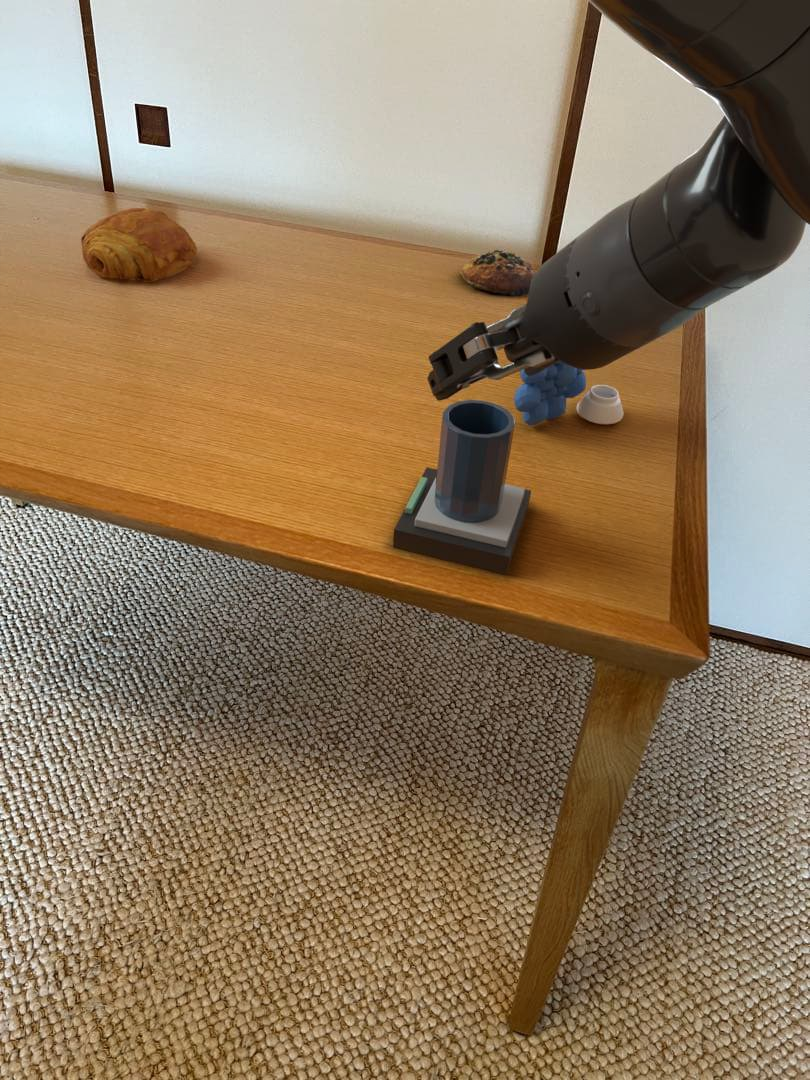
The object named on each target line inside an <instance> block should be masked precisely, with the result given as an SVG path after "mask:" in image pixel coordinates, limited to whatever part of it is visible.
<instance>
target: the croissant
mask: <svg viewBox="0 0 810 1080" xmlns="http://www.w3.org/2000/svg"><path fill="white" fill-rule="evenodd" d="M80 240H81V248H82V249H81V250H82V258H83V260H84V263H85V265H86V266H87V267H88V269H90V271H92V272H93V273H95V275H97V276H99V277H101V278H110V279H119V280H124V279H127V280H129V281H136V280H139V282H143V283H149V282H156V281H159V280H161V279H168V278H172V277H173V276H175V275H178V274H179V273H182V272H185V271H186V270H187V269H188V267H189V266H191V265H192V264H193V262H194V261H195V260H196V256H197V254H198V247H197V244H196V242H195V241H194V240H193V239H192V237H191V235H190V234H189V232H188V231H187V230H186V229H185V227H183V226H181V225H180V224H179V223H178V222H176V221H174V220H173V219H171V218H170V217H168V215H167V214H166V213H165V212H163V211H160V210H159V211H158V210H157V211H156V210H152V209H148V208H144V207H131V208H127V209H123V210H118V211H115V212H113V213H111V214H110V215H108V216H106V217H103V218H101V219H100V220H98V221H97V222H96V223H94V224H92V225H91V226H90V227H89V228H87V229H86V231H85V232H84V233H83V234H82V235H81V239H80Z"/></svg>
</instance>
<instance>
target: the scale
mask: <svg viewBox="0 0 810 1080" xmlns="http://www.w3.org/2000/svg"><path fill="white" fill-rule="evenodd" d="M436 474H437V468H432V467H431V468H430V467H426V468H425V469H424V471H423V472H422V475H421V477H420V479H419V481H418V483H417V485H416V487H415V489H414V490H413V493H412V494H411V496H410V498H409V500H408V502H407V504H406V506H405V508H404V509H403V511H402V513H401V515H400V517H399V518H398V521H397V523H396V525H395V526H394V529H393V538H392V539H393V540H392V548H395V549H399V550H403V551H407V552H411V553H415V554H419V555H424V556H426V557H427V556H428V557H432V558H436V559H440V560H443V561H448V562H452V563H456V564H460V565H465V566H468V567H472V568H476V569H481V570H485V571H489V572H492V573H497V574H500V575H505V576H506V575H507V574H508V572H509V568H510V565H511V562H512V560H513V556H514V552H515V549H516V546H517V543H518V540H519V538H520V535H521V531H522V528H523V525H524V521H525V518H526V516H527V513H528V511H529V510H528V509H529V505H530V500H531V495H532V490H530V489H527V488H525V487H521V486H516V485H512V484H507V483H505V486H504V492H503V498H502V503H501V507H500V510H499V512H498V513H497V515H495V516H494V517H493V518H491V519H489V520H486V521H483V522H477V523H467V522H460V521H456V520H453V519H451V518H449V517H447V516H445V515H444V514H442V513H441V512H440V511H439V510H438V509H437V507H436V505H435V502H434V497H435V484H436Z"/></svg>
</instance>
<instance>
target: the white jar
mask: <svg viewBox="0 0 810 1080" xmlns="http://www.w3.org/2000/svg"><path fill="white" fill-rule="evenodd" d="M576 412H577V414H578V415H579V416H580V417H581V418H582V419H584V420H587V421H588V422H591V423H594V424H597V425H598V424H599V425H612V424H616V423H618V422H621V421H622V419H623V418H624V415H625V412H624V408H623V405H622V401H621V398H620V393H619V390H618V389H616V388H615V387H613V386H610V385H606V384H596V385H593V386H591V388H590V389H589V390H588V391H587V392H586V393H585V395H584V396H582V398H581V399H580V400H579V402H578V403H577V404H576Z"/></svg>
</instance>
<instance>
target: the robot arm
mask: <svg viewBox="0 0 810 1080" xmlns="http://www.w3.org/2000/svg"><path fill="white" fill-rule="evenodd" d="M587 1H588V2H589V3H590V4H591V5H592V6H593V7H594V8H595V9H596V10H598V11H599V12H600V14H601V15H603V16H604V17H605V18H606V19H607V20H608V21H610V22H611V23H612V24H613V25H614V26H615V27H617V28H618V30H619V31H621V32H622V33H623V34H625V35H626V36H627V37H629V38H630V39H631V40H632V41H633V42H635V43H636V44H638V46H640V47H641V48H643V49H644V50H645V51H647V52H648V53H649V54H650V55H652V56H653V57H654V58H656V59H657V60H659V61H660V62H661V63H662V64H663V65H665V66H666V67H668V68H669V69H671V71H673V72H674V73H675V74H677V75H678V76H680V77H681V78H682V79H683V80H685V81H686V82H688V83H689V84H690V85H692V86H693V87H694V88H695V89H697V90H698V91H701V92H702V93H704V94H705V95H707V96H708V97H710V98H711V99H712V100H713V101H714V102H715V103H716V104H717V105H718V107H719V109H720V110H721V111H722V113H723V114H724V115H723V116H722V118H721V119H720V121H719V122H718V123H717V125H716V127H715V128H714V129H713V131H712V132H711V133H710V135H709V136H708V137H707V138H706V140H705V142H704V143H703V144H702V145H701V146H700V148H699V149H697V150H696V151H694V153H692V154H691V155H689V156H687V157H686V158H685V159H683V160H682V161H681V162H680V163H678V165H676V166H674V167H673V168H672V169H671V170H669V171H668V172H667V173H666V174H664V175H663V176H661V178H659V179H658V180H656V181H655V182H654V183H653V184H651V185H650V186H648V187H647V188H646V189H645V190H644V191H643V190H642V192H640V193H639V194H636V196H634V197H632V198H630V199H628V200H626V201H624V202H623V203H621V204H619V205H617V206H616V207H614V208H613V209H612V210H610V211H608V212H607V213H606V214H605V215H604V216H602V217H601V218H600V219H598V220H597V221H596V222H594V223H593V224H592V225H591V226H589V227H588V228H587V229H585V230H584V231H583V232H582V233H580V234H579V235H578V236H576V237H575V238H574V239H573V240H571V241H570V242H568V244H566V245H565V246H564V247H563V248H561V249H560V250H559V251H557V252H556V253H555V254H554V255H552V256H551V257H549V258H548V259H547V260H546V261H545V262H543V263H542V265H540V266H539V268H538V269H537V271H535V272H536V273H535V275H534V277H533V279H532V282H531V285H530V289H529V291H528V294H527V295H528V296H527V301H526V303H525V304H523V305H521V306H518V307H516V308H514V309H513V310H511V311H510V312H509V314H508V316H505V318H502V319H500V320H498V321H496V322H493V323H491V324H489V325H486V322H485V321H481V322H479V321H476V322H473V323H471V325H470V326H468V327H467V328H465V330H463V331H461V332H460V333H459V334H457V335H456V336H455V337H453V338H452V339H451V340H449V341H448V342H447V343H445V344H444V345H442V346H441V347H440V348H438V349H436V350H435V351H433V352H432V353H430V355H429V356H428V361H429V364H430V365H431V367H432V370H431V371H429V373H428V376H427V377H426V380H427V383H428V385H429V388H430V390H431V393H432V396H433V397H434V398H435V399H436V400H437V401H440V402H441V401H443V400H448V399H449V398H451V397H452V396H454V395H455V394H457V393H458V392H460V391H462V390H463V389H466V388H469V387H470V386H471V385H473V384H474V383H477V382H479V381H481V380H485V379H486V378H487V379H489V380H494V381H500V380H502V379H504V378H507V377H509V376H511V375H514V374H516V373H519V372H520V371H521V370H523V369H524V371H525V373H526V375H528V376H531V375H534V374H537V373H539V372H541V371H542V370H544V369H546V368H548V367H549V366H551V365H553V364H554V363H556V362H558V361H562V362H563V363H565V364H567V365H569V366H572V367H575V368H578V369H586V370H589V371H590V370H597V369H601V368H603V367H606V366H608V365H610V364H611V363H614V362H616V361H617V360H619V359H621V358H623V357H625V356H627V355H629V354H631V353H632V352H634V351H636V350H638V349H641V348H642V347H644V346H646V345H648V344H649V343H652V342H654V341H655V340H657V339H659V338H661V337H663V336H664V335H667V334H669V333H670V332H673V331H675V330H676V329H678V328H680V327H681V326H683V325H684V324H686V323H687V322H689V321H691V319H694V317H695V316H697V315H698V314H700V313H701V312H702V311H703V310H705V309H707V308H708V307H710V306H711V305H713V304H715V303H717V302H720V301H721V300H723V299H724V298H725V299H726V298H727V297H729V296H730V295H732V294H734V293H736V292H738V291H740V290H743V289H744V288H745V287H747V286H750V285H751V284H752V283H755V282H756V281H758V280H760V279H762V278H764V277H766V276H767V275H769V274H770V273H773V271H775V270H776V269H778V268H779V267H780V266H782V265H783V264H785V263H786V262H787V261H788V260H789V259H790V258H791V257H792V255H793V254H794V253H795V252H796V250H797V248H798V246H799V245H800V243H801V241H802V239H803V236H804V233H805V229H806V225H809V226H810V0H587ZM501 350H503V351H504V354H505V357H506V360H508V361H509V362H510V363H509V364H507V365H504V366H502V367H501V365H500V363H499V361H498V360H499V358H498V355H497V352H498V351H501ZM586 370H585V371H586Z"/></svg>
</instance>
